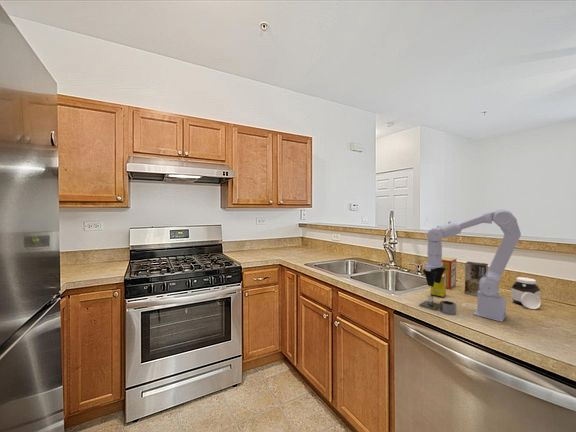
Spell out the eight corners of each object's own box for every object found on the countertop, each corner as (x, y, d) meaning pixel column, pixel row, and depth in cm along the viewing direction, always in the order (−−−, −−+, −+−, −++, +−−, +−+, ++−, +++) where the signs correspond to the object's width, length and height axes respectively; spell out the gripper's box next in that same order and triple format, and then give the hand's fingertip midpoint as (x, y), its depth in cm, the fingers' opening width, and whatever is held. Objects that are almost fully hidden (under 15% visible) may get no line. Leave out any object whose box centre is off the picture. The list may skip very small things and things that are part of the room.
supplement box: (432, 292, 140) (433, 272, 140) (445, 295, 136) (446, 274, 136) (430, 295, 135) (430, 274, 135) (443, 298, 132) (444, 276, 131)
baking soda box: (442, 283, 157) (443, 256, 156) (455, 286, 152) (456, 258, 151) (437, 286, 150) (438, 258, 150) (450, 289, 146) (451, 260, 145)
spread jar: (525, 300, 130) (526, 276, 129) (552, 309, 118) (553, 283, 118) (504, 301, 127) (505, 277, 127) (529, 311, 116) (530, 284, 116)
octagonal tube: (457, 312, 114) (457, 303, 114) (452, 315, 111) (452, 306, 110) (443, 308, 118) (443, 299, 118) (438, 311, 115) (438, 302, 115)
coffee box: (487, 294, 137) (488, 263, 137) (485, 297, 133) (486, 265, 132) (466, 290, 143) (467, 261, 143) (464, 293, 139) (465, 262, 138)
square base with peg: (441, 306, 121) (442, 297, 121) (435, 310, 116) (436, 300, 116) (425, 302, 126) (425, 293, 126) (419, 305, 121) (419, 296, 121)
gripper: (431, 251, 130) (431, 279, 130) (418, 255, 120) (418, 285, 121) (447, 253, 124) (447, 282, 125) (435, 257, 115) (434, 289, 115)
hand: (434, 284), depth 122 cm, fingers open, 7 cm apart
